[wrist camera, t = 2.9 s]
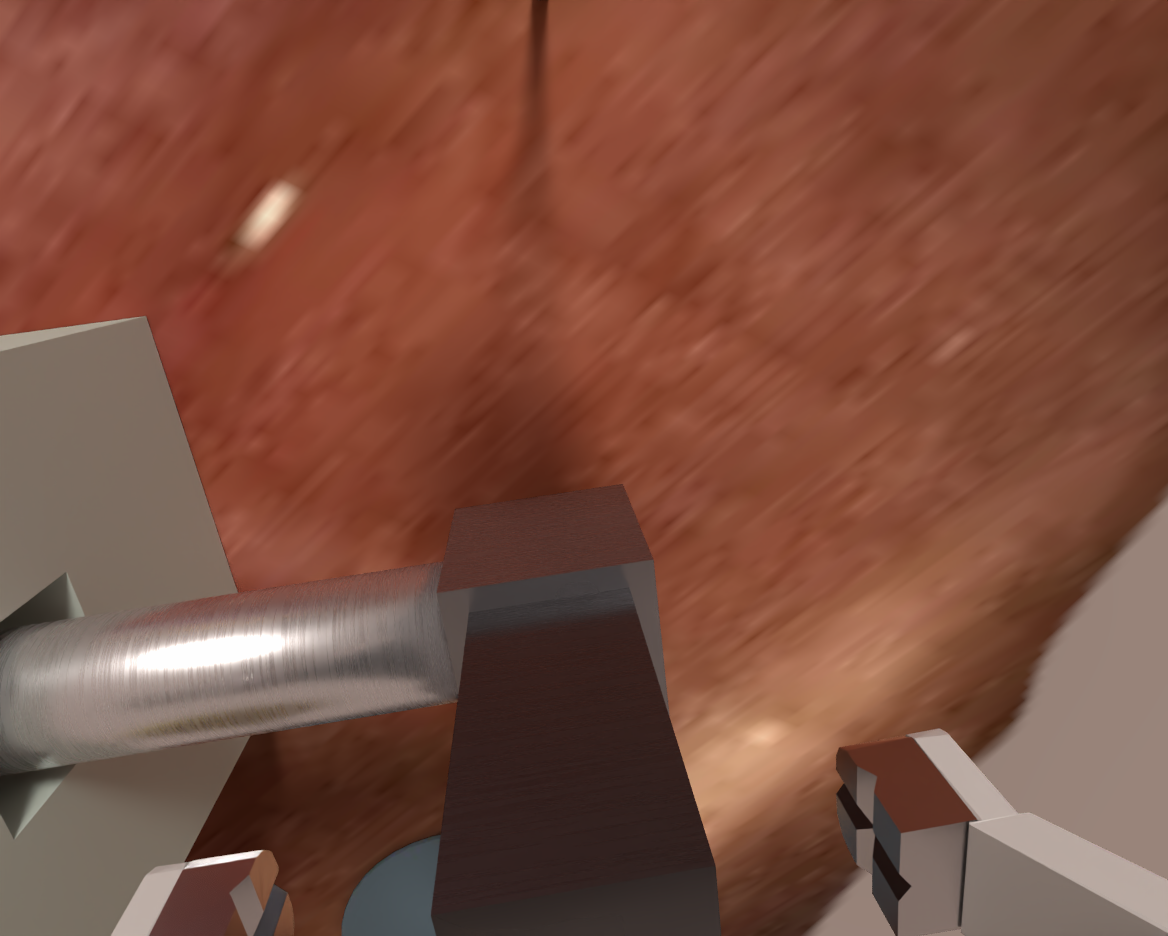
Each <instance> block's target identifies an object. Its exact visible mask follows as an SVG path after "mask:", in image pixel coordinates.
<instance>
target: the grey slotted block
mask: <svg viewBox="0 0 1168 936" xmlns="http://www.w3.org/2000/svg"><path fill="white" fill-rule="evenodd" d="M234 593H238V592H237V589H236V586H235V583H234V580H233V577H232V574H231V571H230V568H229V565H228V562H227V559H226V556H225V553H224V550H223V547H222V544H221V541H220V538H219V535H218V532H217V529H216V526H215V522H214V519H213V516H212V513H211V510H210V507H209V504H208V501H207V498H206V495H205V492H204V489H203V486H202V483H201V480H200V477H199V474H198V471H197V468H196V465H195V462H194V459H193V456H192V453H191V450H190V447H189V444H188V441H187V438H186V435H185V432H184V429H183V426H182V423H181V420H180V417H179V414H178V411H177V408H176V405H175V402H174V399H173V396H172V393H171V390H170V387H169V384H168V381H167V378H166V375H165V372H164V369H163V366H162V363H161V360H160V357H159V354H158V351H157V348H156V345H155V342H154V339H153V336H152V333H151V330H150V327H149V324H148V321H147V318H146V316H143V317H136V318H129V319H121V320H114V321H106V322H99V323H92V324H84V325H77V326H70V327H62V328H55V329H47V330H40V331H33V332H25V333H18V334H11V335H3V336H0V629H5V628H12V627H18V626H25V625H31V624H38V623H44V622H51V621H58V620H64V619H71V618H77V617H84V616H90V615H97V614H103V613H110V612H116V611H123V610H129V609H136V608H142V607H149V606H155V605H162V604H168V603H175V602H181V601H188V600H195V599H201V598H208V597H214V596H221V595H227V594H234ZM249 738H250V736H245V737H238V738H232V739H226V740H220V741H214V742H208V743H201V744H195V745H189V746H183V747H177V748H171V749H164V750H158V751H152V752H146V753H140V754H134V755H127V756H121V757H115V758H109V759H103V760H97V761H90V762H84V763H78V764H72V765H66V766H60V767H53V768H47V769H41V770H35V771H29V772H23V773H16V774H10V775H4V776H0V936H111V934H112V932H113V930H114V929H115V927H116V925H117V923H118V922H119V920H120V918H121V917H122V915H123V913H124V911H125V910H126V908H127V906H128V904H129V903H130V901H131V899H132V897H133V896H134V894H135V892H136V890H137V889H138V887H139V885H140V883H141V882H142V880H143V878H144V877H145V875H147V874H148V873H149V872H150V871H151V870H153V869H154V868H155V867H157V866H164V865H171V864H178V863H184V861H185V860H186V858H187V856H188V854H189V852H190V850H191V848H192V846H193V844H194V842H195V841H196V839H197V837H198V835H199V833H200V831H201V829H202V827H203V825H204V823H205V821H206V820H207V818H208V816H209V814H210V812H211V810H212V808H213V806H214V804H215V802H216V800H217V799H218V797H219V795H220V793H221V791H222V789H223V787H224V785H225V783H226V781H227V779H228V778H229V776H230V774H231V772H232V770H233V768H234V766H235V764H236V762H237V760H238V758H239V757H240V755H241V753H242V751H243V749H244V747H245V745H246V743H247V741H248V739H249Z"/></svg>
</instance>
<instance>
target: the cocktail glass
mask: <svg viewBox="0 0 1168 936" xmlns="http://www.w3.org/2000/svg"><path fill="white" fill-rule="evenodd" d="M440 837H441V835H437V836H432V837H429V838H426V839H423V840H420V841H417V842H415V843H412V844H410V845H408V846H406V847H404V848H402V849H400V850H397V851H395V852H393V853H392V854H391V855H389V856H388V857H386V858H385V859H383V860H382V861H380V862H379V863H378V864H376V865H375V866H374V867H373V868H372V869H371V870H370V871H369V872H368V873H367V874H366V875H365V876H364V877H363V878H362V880H361V881H360V882H359V884H358V885H357V886H356V888H355V889H354V891H353V893H352V895H351V897H350V899H349V901H348V903H347V906H346V908H345V913H344V917H343V921H342V936H436V933H435V930H434V926H433V922H432V919H431V908H432V900H433V892H434V884H435V876H436V869H437V861H438V853H439V845H440Z"/></svg>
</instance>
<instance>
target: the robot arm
mask: <svg viewBox="0 0 1168 936" xmlns="http://www.w3.org/2000/svg"><path fill="white" fill-rule="evenodd" d="M836 770H837V772H838V774H839V775H840V777H841V779H842V780H843V782H844V784H843V785H842V787H841V788H840V790H839V791H838V792H837V794H836V799H837V814H838V818H839V823H840V827H841V831H842V834H843V837H844V839H845V842H846V844H847V847H848V849H849V851H850V853H851V855H852V857H853V859H854V861H855V862H856V864H857V865H858V866H859V867H861V868H863V869H864V870H866V871H867V872H869V873H870V874H872V894H873V895H874V897H875V899H876V901H877V903H878V904H879V906H880V908H881V910H882V912H883V913H884V915H885V917H886V919H887V921H888V922H889V924H890V926H891V928H892V930H893V931H894V933H895V935H896V936H920V935H926V934H932V933H939V932H945V931H951V930H957V929H961V933H962V934H963V935H965V936H1168V879H1165V878H1163V877H1161V876H1159V875H1157V874H1155V873H1153V872H1151V871H1149V870H1147V869H1145V868H1143V867H1141V866H1139V865H1137V864H1135V863H1132V862H1131V861H1129V860H1127V859H1124V858H1122V857H1120V856H1118V855H1116V854H1114V853H1112V852H1110V851H1108V850H1106V849H1104V848H1102V847H1100V846H1098V845H1096V844H1094V843H1092V842H1090V841H1088V840H1086V839H1084V838H1082V837H1079V836H1077V835H1075V834H1073V833H1071V832H1069V831H1067V830H1065V829H1063V828H1061V827H1059V826H1057V825H1055V824H1053V823H1051V822H1049V821H1047V820H1044V819H1043V818H1041V817H1039V816H1036V815H1034V814H1032V813H1030V812H1026V813H1020V814H1019V813H1017V811H1016V810H1015V809H1014V808H1013V807H1012V805H1011V804H1010V803H1009V802H1008V801H1007V800H1006V799H1005V798H1004V796H1003V795H1002V794H1001V793H1000V792H999V791H998V790H997V789H996V787H995V786H994V785H993V784H992V783H991V782H990V781H989V779H988V778H987V777H986V776H985V775H984V774H983V773H982V772H981V770H980V769H979V768H978V767H977V766H976V765H975V764H974V763H973V761H972V760H971V759H970V758H969V757H968V756H967V755H966V753H965V752H964V751H963V750H962V749H961V748H960V747H959V746H958V744H957V743H956V742H955V741H954V740H953V739H952V738H951V737H950V735H949V734H948V733H947V732H945V731H943V730H941V729H934V730H929V731H923V732H918V733H913V734H908V735H905V736H898V737H893V738H887V739H882V740H877V741H871V742H866V743H861V744H855V745H850V746H845V747H839V749H838V752H837V755H836ZM278 870H279V868H278V866H277V863H276V861H275V858H274V856H273V854H272V851H268V850H258V851H252V852H245V853H238V854H232V855H225V856H219V857H212V858H205V859H199V860H193V861H192V862H185V863H178V864H171V865H164V866H157V867H155V868H154V869H153V870H151V871H150V872H149V873H148V874H147V875H145V877H144V878H143V880H142V882H141V883H140V885H139V887H138V889H137V890H136V892H135V894H134V896H133V897H132V899H131V901H130V903H129V904H128V906H127V908H126V910H125V911H124V913H123V915H122V917H121V918H120V920H119V922H118V923H117V925H116V927H115V929H114V930H113V932H112V934H111V936H293V933H294V917H293V909H292V905H291V902H290V899H289V896H288V893H287V892H285V891H284V890H282V889H281V888H279V887H278V886H276V885H275V884H274V881H275V878H276V876H277V873H278Z"/></svg>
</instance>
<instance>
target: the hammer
mask: <svg viewBox="0 0 1168 936" xmlns="http://www.w3.org/2000/svg"><path fill="white" fill-rule="evenodd" d="M454 702H457V710H456V718H455V726H454V734H453V742H452V750H451V758H450V766H449V773H448V781H447V789H446V797H445V805H444V813H443V821H442V829H441V837H440V845H439V853H438V861H437V869H436V876H435V884H434V892H433V900H432V908H431V919H432V922H433V926H434V930H435V933H436V936H721V927H720V915H719V903H718V891H717V879H716V867H715V863H714V859H713V856H712V853H711V850H710V846H709V843H708V840H707V837H706V834H705V830H704V827H703V824H702V821H701V817H700V814H699V811H698V808H697V804H696V801H695V798H694V795H693V792H692V788H691V785H690V782H689V779H688V775H687V772H686V769H685V766H684V762H683V759H682V756H681V753H680V750H679V746H678V743H677V740H676V737H675V733H674V730H673V727H672V724H671V720H670V717H669V707H668V698H667V688H666V678H665V668H664V658H663V649H662V639H661V629H660V619H659V610H658V600H657V590H656V580H655V571H654V561H653V557H652V555H651V552H650V550H649V548H648V545H647V543H646V540H645V538H644V535H643V533H642V530H641V528H640V526H639V523H638V521H637V518H636V516H635V513H634V511H633V508H632V506H631V503H630V501H629V499H628V496H627V494H626V491H625V489H624V486H623V484H619V485H613V486H606V487H599V488H593V489H586V490H579V491H573V492H566V493H559V494H553V495H546V496H539V497H533V498H526V499H519V500H513V501H506V502H499V503H493V504H486V505H479V506H473V507H466V508H459V509H455V511H454V516H453V520H452V525H451V529H450V534H449V538H448V543H447V548H446V552H445V557H444V561H442V562H436V563H429V564H423V565H416V566H410V567H403V568H397V569H390V570H384V571H377V572H371V573H364V574H358V575H351V576H345V577H338V578H332V579H325V580H318V581H312V582H305V583H299V584H292V585H286V586H279V587H273V588H266V589H260V590H253V591H247V592H240V593H234V594H227V595H221V596H214V597H208V598H201V599H195V600H188V601H181V602H175V603H168V604H162V605H155V606H149V607H142V608H136V609H129V610H123V611H116V612H110V613H103V614H97V615H90V616H84V617H77V618H71V619H64V620H58V621H51V622H44V623H38V624H31V625H25V626H18V627H12V628H5V629H0V776H4V775H10V774H16V773H23V772H29V771H35V770H41V769H47V768H53V767H60V766H66V765H72V764H78V763H84V762H90V761H97V760H103V759H109V758H115V757H121V756H127V755H134V754H140V753H146V752H152V751H158V750H164V749H171V748H177V747H183V746H189V745H195V744H201V743H208V742H214V741H220V740H226V739H232V738H238V737H245V736H251V735H257V734H263V733H269V732H275V731H282V730H288V729H294V728H300V727H306V726H312V725H319V724H325V723H331V722H337V721H343V720H349V719H356V718H362V717H368V716H374V715H380V714H386V713H393V712H399V711H405V710H411V709H417V708H423V707H430V706H436V705H442V704H448V703H454Z"/></svg>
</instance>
